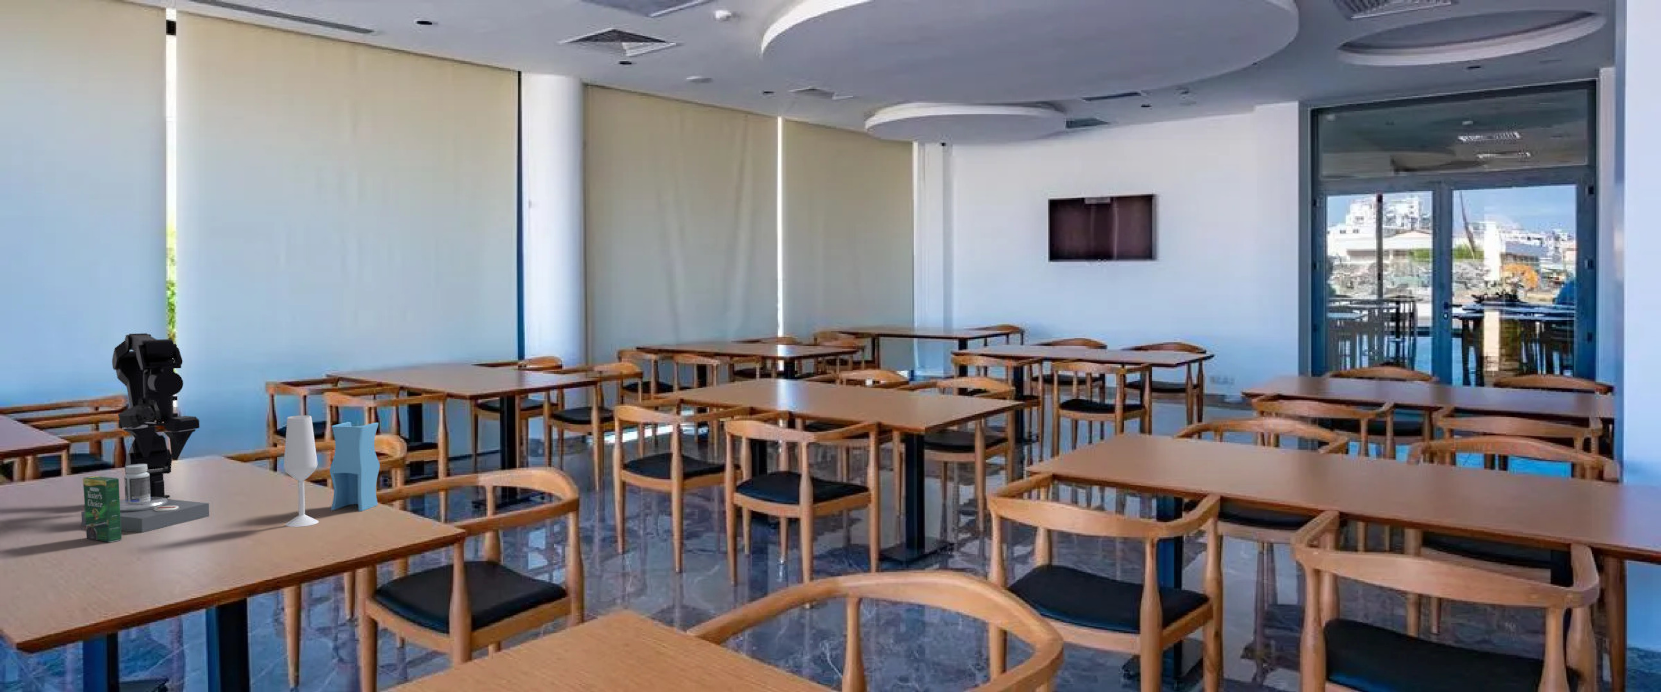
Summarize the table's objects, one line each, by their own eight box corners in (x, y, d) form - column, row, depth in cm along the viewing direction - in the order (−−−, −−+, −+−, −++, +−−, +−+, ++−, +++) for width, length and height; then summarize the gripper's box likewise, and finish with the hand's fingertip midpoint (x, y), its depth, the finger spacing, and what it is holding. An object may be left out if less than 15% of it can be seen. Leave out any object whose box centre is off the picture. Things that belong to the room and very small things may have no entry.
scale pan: (96, 509, 222) (95, 505, 222) (143, 499, 232) (143, 495, 232) (132, 513, 218) (132, 509, 218) (179, 503, 229) (179, 498, 229)
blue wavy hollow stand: (380, 503, 244) (378, 422, 243) (362, 511, 236) (360, 427, 235) (349, 502, 245) (348, 421, 243) (330, 509, 237) (328, 426, 236)
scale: (81, 525, 220) (81, 509, 220) (151, 509, 235) (150, 494, 235) (142, 532, 214) (141, 515, 214) (209, 515, 230) (208, 500, 229)
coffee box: (84, 538, 209) (81, 476, 208) (98, 535, 212) (96, 474, 211) (107, 543, 206) (105, 480, 205) (122, 540, 208) (120, 477, 207)
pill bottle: (155, 500, 227) (154, 463, 227) (139, 504, 223) (138, 467, 222) (136, 499, 228) (135, 463, 227) (119, 504, 223) (118, 466, 223)
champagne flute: (307, 518, 229) (305, 414, 227) (325, 522, 225) (322, 416, 224) (278, 524, 223) (275, 417, 221) (296, 528, 219) (293, 419, 218)
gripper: (95, 394, 230) (97, 461, 231) (155, 398, 224) (157, 466, 225) (141, 389, 241) (143, 453, 242) (200, 392, 235) (202, 458, 236)
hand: (160, 458), depth 236 cm, fingers open, 9 cm apart
